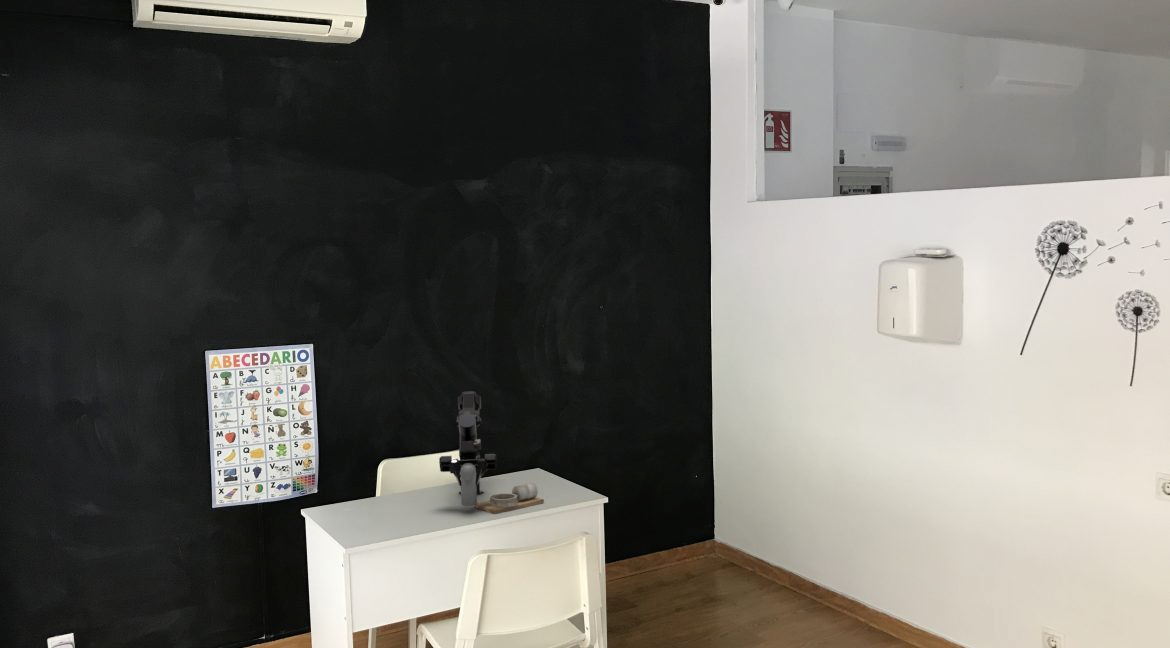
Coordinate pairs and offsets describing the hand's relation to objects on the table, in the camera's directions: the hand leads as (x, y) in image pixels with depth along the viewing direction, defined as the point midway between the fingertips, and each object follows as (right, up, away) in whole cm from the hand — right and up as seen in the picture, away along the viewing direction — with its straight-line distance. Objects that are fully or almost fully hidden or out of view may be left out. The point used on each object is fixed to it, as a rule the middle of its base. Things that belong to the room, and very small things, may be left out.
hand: (468, 484), depth 293 cm
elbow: (0, -7, +2) cm, 7 cm away
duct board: (+12, -8, +9) cm, 17 cm away
